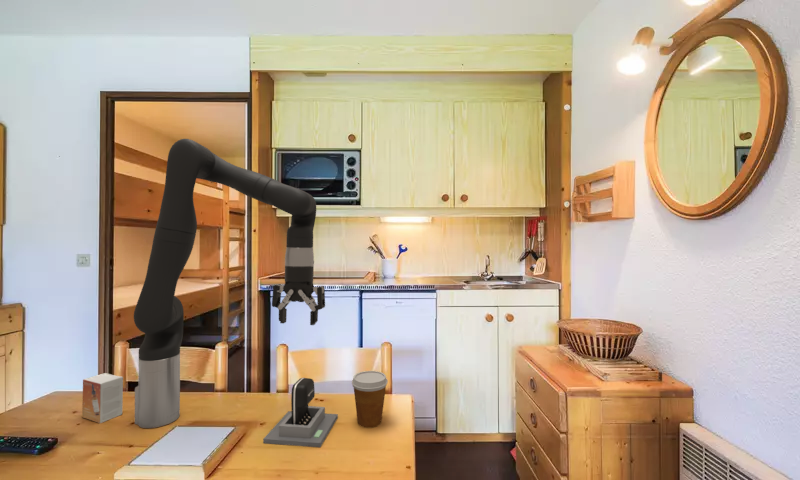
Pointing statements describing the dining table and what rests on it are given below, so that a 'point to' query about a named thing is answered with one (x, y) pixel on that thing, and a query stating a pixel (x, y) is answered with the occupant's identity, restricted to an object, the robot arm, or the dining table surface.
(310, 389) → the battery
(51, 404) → the dining table surface
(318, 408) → the dock
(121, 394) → the small box
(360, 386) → the disposable coffee cup
